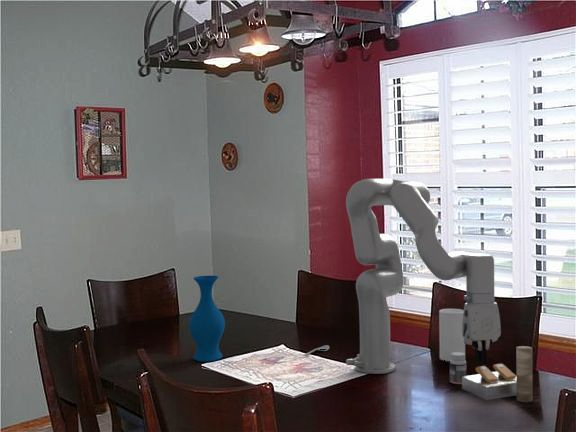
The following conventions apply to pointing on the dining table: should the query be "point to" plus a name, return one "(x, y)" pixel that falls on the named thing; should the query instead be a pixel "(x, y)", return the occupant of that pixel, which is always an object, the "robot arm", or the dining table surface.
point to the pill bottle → (457, 367)
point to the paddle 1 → (486, 374)
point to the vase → (207, 323)
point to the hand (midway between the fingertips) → (481, 363)
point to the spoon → (318, 349)
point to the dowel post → (524, 374)
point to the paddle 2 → (504, 371)
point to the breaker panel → (490, 386)
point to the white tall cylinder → (450, 332)
